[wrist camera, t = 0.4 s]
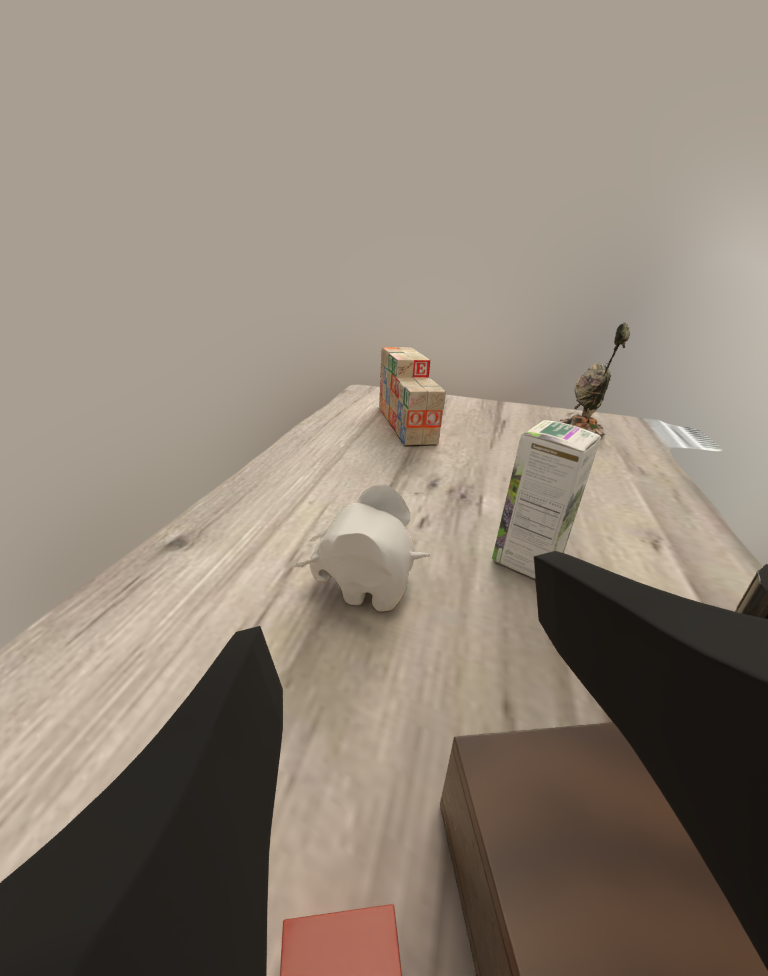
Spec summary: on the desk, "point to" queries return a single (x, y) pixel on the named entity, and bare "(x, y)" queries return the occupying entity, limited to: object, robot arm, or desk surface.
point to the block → (342, 944)
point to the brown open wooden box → (580, 862)
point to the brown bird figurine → (595, 388)
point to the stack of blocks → (410, 396)
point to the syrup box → (544, 493)
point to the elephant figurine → (368, 549)
